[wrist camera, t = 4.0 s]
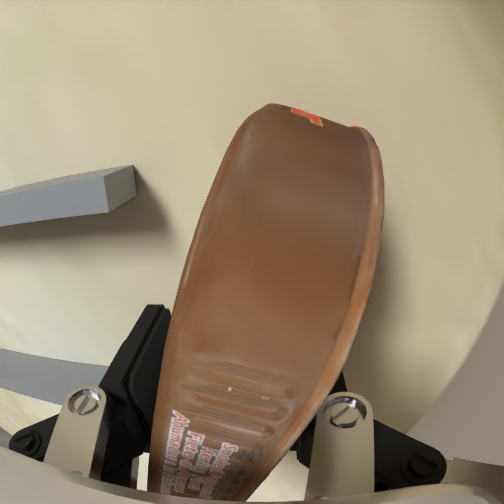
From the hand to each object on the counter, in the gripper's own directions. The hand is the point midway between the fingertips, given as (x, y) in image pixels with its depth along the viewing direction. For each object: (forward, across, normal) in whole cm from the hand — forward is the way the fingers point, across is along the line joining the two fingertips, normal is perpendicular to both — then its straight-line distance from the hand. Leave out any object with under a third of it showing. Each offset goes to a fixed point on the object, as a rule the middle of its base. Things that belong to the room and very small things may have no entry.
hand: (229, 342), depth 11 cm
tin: (+3, 0, 0) cm, 3 cm away
